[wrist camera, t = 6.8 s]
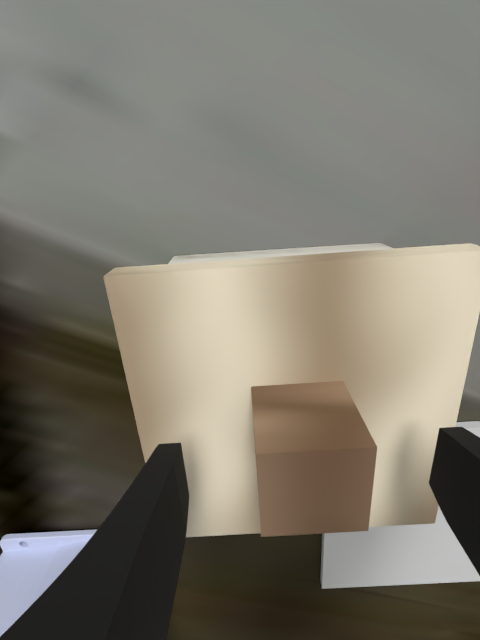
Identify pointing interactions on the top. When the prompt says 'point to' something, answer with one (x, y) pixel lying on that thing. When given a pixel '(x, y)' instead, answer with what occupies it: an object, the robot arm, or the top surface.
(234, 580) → the top surface
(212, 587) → the top surface
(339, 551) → the mat
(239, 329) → the lid
